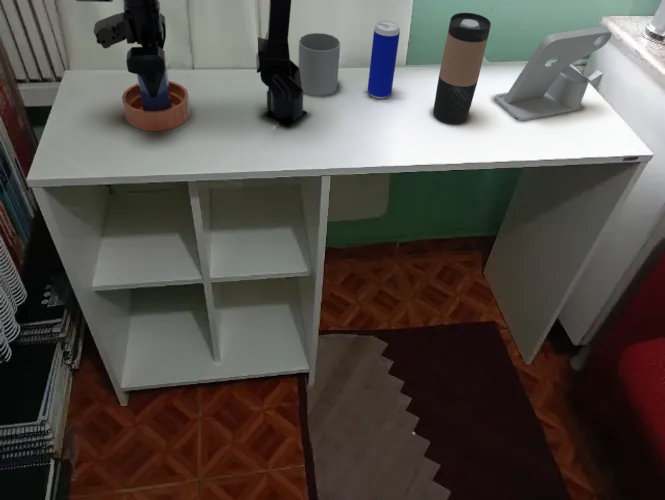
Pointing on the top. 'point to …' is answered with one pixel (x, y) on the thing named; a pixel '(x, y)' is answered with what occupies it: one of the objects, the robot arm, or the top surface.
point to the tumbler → (162, 97)
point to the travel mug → (460, 67)
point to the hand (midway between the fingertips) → (154, 84)
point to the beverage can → (383, 59)
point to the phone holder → (553, 75)
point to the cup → (319, 63)
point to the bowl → (157, 118)
